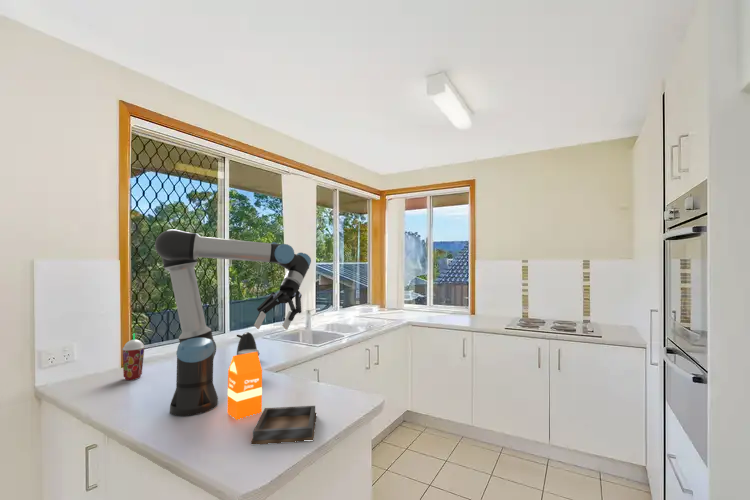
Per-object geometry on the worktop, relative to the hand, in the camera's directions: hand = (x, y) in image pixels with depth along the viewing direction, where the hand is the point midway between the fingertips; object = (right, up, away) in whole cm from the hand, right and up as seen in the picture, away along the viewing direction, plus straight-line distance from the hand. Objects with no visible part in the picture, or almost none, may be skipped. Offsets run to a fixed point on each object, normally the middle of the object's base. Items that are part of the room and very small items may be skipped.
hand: (270, 327), depth 133 cm
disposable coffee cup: (-17, -28, +23) cm, 40 cm away
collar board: (+13, -26, -26) cm, 39 cm away
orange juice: (-5, -26, -14) cm, 30 cm away
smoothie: (-69, -28, +24) cm, 79 cm away
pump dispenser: (-28, -30, +52) cm, 66 cm away
